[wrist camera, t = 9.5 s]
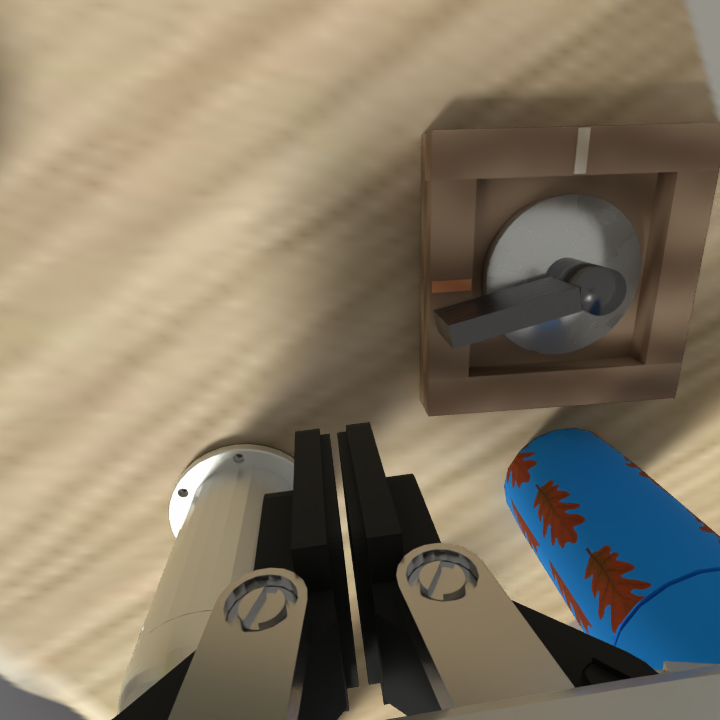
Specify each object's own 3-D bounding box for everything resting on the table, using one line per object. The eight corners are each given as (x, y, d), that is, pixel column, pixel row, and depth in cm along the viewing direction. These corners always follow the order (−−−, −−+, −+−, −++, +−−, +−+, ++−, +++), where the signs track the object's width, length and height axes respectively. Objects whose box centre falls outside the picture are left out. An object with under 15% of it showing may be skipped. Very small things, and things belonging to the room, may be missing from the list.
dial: (624, 173, 35) (688, 171, 29) (636, 325, 39) (695, 350, 33) (410, 236, 35) (431, 247, 29) (444, 382, 39) (468, 417, 33)
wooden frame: (649, 383, 43) (676, 398, 40) (419, 399, 41) (429, 417, 38) (693, 127, 36) (729, 121, 33) (421, 135, 35) (433, 129, 31)
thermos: (640, 465, 46) (993, 763, 22) (561, 547, 48) (804, 895, 24) (558, 404, 43) (865, 672, 19) (478, 494, 45) (664, 833, 21)
